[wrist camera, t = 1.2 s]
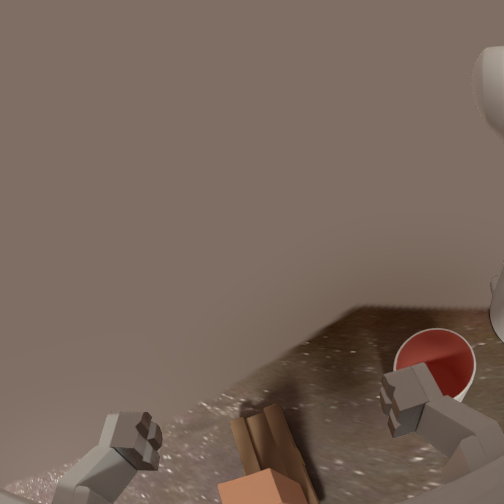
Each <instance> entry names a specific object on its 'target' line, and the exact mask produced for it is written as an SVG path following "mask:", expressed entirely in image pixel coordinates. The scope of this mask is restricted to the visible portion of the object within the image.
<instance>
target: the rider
mask: <svg viewBox="0 0 504 504" xmlns="http://www.w3.org/2000/svg"><path fill="white" fill-rule="evenodd" d="M218 489H219V493H220V496H221V500H222V503H223V504H308V503H307V500H306V498H305V495H304V493H303V491H302V488H301V486H300V484H299V483H297V482H295V481H293V480H291V479H289V478H287V477H285V476H283V475H282V474H280V473H278V472H276V471H274V470H272V469H271V468H268V469H265V470H262V471H260V472H257V473H254V474H251V475H248V476H245V477H241V478H238V479H235V480H232V481H228V482H225V483H221V484H218Z"/></svg>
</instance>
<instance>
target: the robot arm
mask: <svg viewBox="0 0 504 504" xmlns="http://www.w3.org/2000/svg"><path fill="white" fill-rule="evenodd" d="M472 92H473V97H474V101H475V104H476V107H477V109H478V111H479V113H480V115H481V117H482V119H483V120H484V122H485V123H486V125H487V126H488V127H489V128H490V129H491V130H492V131H493V132H494V133H495V134H496V135H497V136H498V137H499V138H500V139H501V140H502V141H503V143H504V46H498V47H488V48H485V49H484V50H483V51H482V52H481V54H480V55H479V56H478V58H477V60H476V63H475V65H474V68H473V72H472ZM490 287H491V292H492V301H491V305H490V318H491V323H492V326H493V328H494V330H495V332H496V334H497V335H498V337H499V338H500V339H501V340H502V341H503V342H504V262H503V265H502V268H501V271H500V274H499V275H497V276H495V277H493V278H492V280H491V283H490ZM381 382H382V385H383V387H382V388H381V389H380V402H381V406H382V409H383V412H384V414H385V415H387V416H389V419H388V426H389V429H390V432H391V434H392V437H393V438H397V437H400V436H403V435H406V434H410V433H413V432H416V434H418V435H419V436H420V437H422V438H423V439H424V440H426V441H427V442H428V443H430V444H431V445H432V446H434V447H435V448H436V449H437V450H439V451H440V452H441V453H443V454H444V455H445V456H447V457H448V458H450V459H449V461H448V462H447V464H446V465H445V467H444V468H443V470H442V472H441V476H442V478H443V481H444V484H445V485H443V486H440V487H438V488H436V489H433V490H431V491H428V492H426V493H423V494H420V495H418V496H415V497H412V498H409V499H407V500H404V501H401V502H398V503H395V504H504V434H503V432H502V430H501V428H500V426H499V424H498V423H497V421H495V420H493V419H491V418H489V417H487V416H485V415H483V414H481V413H479V412H478V411H476V410H474V409H472V408H470V407H468V406H466V405H465V404H463V403H461V402H459V401H457V400H455V399H453V398H452V397H450V396H448V395H446V396H443V395H442V393H441V391H440V389H439V387H438V385H437V383H436V382H435V380H434V378H433V376H432V374H431V373H430V371H429V369H428V367H427V365H426V364H425V363H424V362H421V363H419V364H416V365H413V366H410V367H409V366H408V367H405V368H402V369H399V370H396V371H393V372H390V373H387V374H383V375H382V379H381ZM151 418H152V417H151V415H150V414H149V413H148V412H110V413H109V414H108V416H107V419H106V422H105V425H104V428H103V431H102V435H101V438H100V441H99V444H98V446H95V447H94V448H92V449H91V450H90V451H89V452H88V453H87V454H86V455H85V456H84V457H83V458H82V459H81V460H80V461H79V462H78V463H77V464H76V465H74V466H73V467H72V468H71V469H70V470H69V471H68V472H67V473H66V474H65V475H64V476H63V477H62V478H61V479H59V481H58V484H57V488H56V491H55V494H54V498H53V501H52V504H113V503H114V502H115V501H116V499H117V498H118V497H119V496H120V494H121V493H122V492H123V490H124V489H125V488H126V486H127V485H128V484H129V483H130V481H131V480H132V479H133V477H134V476H135V475H136V473H137V472H138V471H137V470H139V471H158V465H159V459H160V456H159V454H158V452H157V451H158V450H159V449H160V448H161V446H162V432H161V429H160V427H159V426H158V425H157V424H156V423H154V422H152V421H151ZM0 504H41V503H38V502H35V501H32V500H30V499H27V498H24V497H21V496H19V495H16V494H14V493H11V492H9V491H6V490H4V489H2V488H0Z"/></svg>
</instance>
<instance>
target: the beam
mask: <svg viewBox="0 0 504 504" xmlns="http://www.w3.org/2000/svg"><path fill="white" fill-rule="evenodd" d="M263 410H264V412H261V413H259V414H256V415H254V416H251V417H249V418H246V419H245V418H244V417H240V418H238V419H235V420H232V421H230V424H231V428H232V431H233V435H234V438H235V441H236V445H237V448H238V451H239V455H240V458H241V461H242V464H243V470H244V473H245V476H248V475H251V474H254V473H257V472H260V471H262V470H265V469H268V468H271V469H272V470H274V471H276V472H278V473H280V474H282V475H283V476H285V477H287V478H289V479H291V480H293V481H295V482H297V483H299V484H300V486H301V488H302V491H303V493H304V495H305V498H306V500H307V503H308V504H320V502H319V500H318V497H317V495H316V493H315V490H314V488H313V486H312V483H311V481H310V478H309V476H308V474H307V471H306V469H305V463H304V461H303V458H302V456H301V454H300V451H299V450H298V449H297V447H296V445H295V442H294V440H293V437H292V435H291V432H290V430H289V427H288V425H287V422H286V420H285V417H284V415H283V412H282V410H281V408H280V406H279V405H278V404H277V403H274V404H272V405H270V406H267V407H265V408H263Z"/></svg>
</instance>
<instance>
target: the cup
mask: <svg viewBox="0 0 504 504" xmlns="http://www.w3.org/2000/svg"><path fill="white" fill-rule="evenodd" d="M421 362H424V363H425V364H426V365H427V367H428V369H429V371H430V373H431V374H432V376H433V378H434V380H435V382H436V383H437V385H438V387H439V389H440V391H441V393H442V395H443V396H446V395H448V396H450V397H452V398H453V399H455V400H457V401H459V402H461V401H462V399H463V398H464V396H465V394H466V392H467V390H468V389H469V387H470V385H471V383H472V381H473V379H474V375H475V371H476V359H475V355H474V352H473V350H472V348H471V346H470V344H469V343H468V342H467V341H466V340H465V339H464V338H463V337H462V336H461V335H459V334H458V333H456V332H454V331H451V330H448V329H442V328H432V329H427V330H423V331H420V332H418V333H416V334H414V335H413V336H411V337H410V338H409V339H407V340H406V341H405V342H404V343H403V345H402V346H401V347H400V349H399V350H398V352H397V354H396V357H395V361H394V368H393V371H396V370H399V369H402V368H405V367H408V366H409V367H410V366H413V365H416V364H419V363H421Z"/></svg>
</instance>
